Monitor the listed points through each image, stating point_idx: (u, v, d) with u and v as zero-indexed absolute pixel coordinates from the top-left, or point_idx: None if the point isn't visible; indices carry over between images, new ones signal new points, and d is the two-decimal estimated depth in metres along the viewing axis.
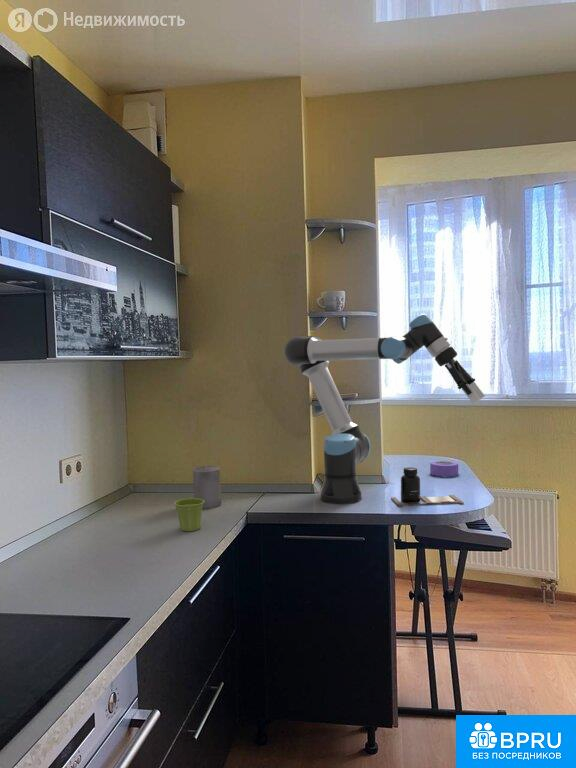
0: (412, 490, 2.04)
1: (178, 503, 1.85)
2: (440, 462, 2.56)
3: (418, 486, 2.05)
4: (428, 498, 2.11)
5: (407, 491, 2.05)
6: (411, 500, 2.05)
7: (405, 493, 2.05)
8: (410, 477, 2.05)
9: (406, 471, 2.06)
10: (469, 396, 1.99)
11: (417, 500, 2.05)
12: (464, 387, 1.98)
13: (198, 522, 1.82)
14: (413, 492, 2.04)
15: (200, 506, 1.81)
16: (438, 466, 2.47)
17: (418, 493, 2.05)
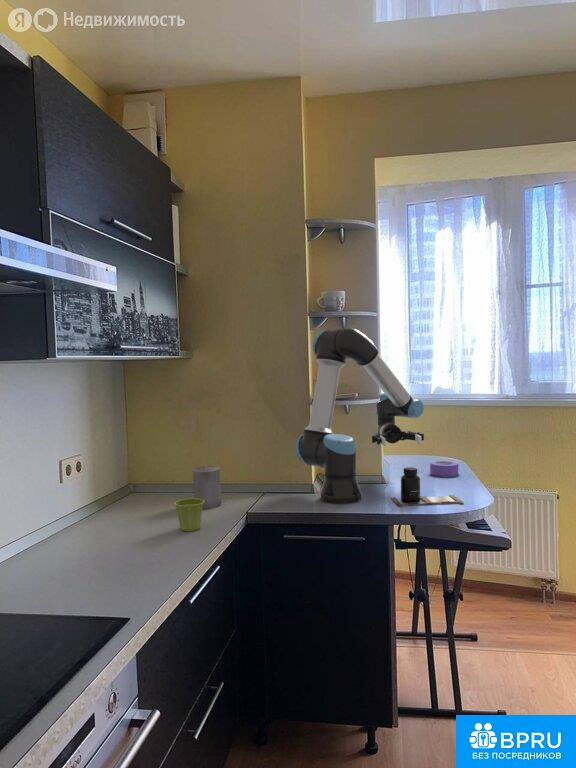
0: (412, 490, 2.04)
1: (178, 503, 1.85)
2: (440, 462, 2.56)
3: (418, 486, 2.05)
4: (428, 498, 2.11)
5: (407, 491, 2.05)
6: (411, 500, 2.05)
7: (405, 493, 2.05)
8: (410, 477, 2.05)
9: (406, 471, 2.06)
10: None
11: (417, 500, 2.05)
12: None
13: (198, 522, 1.82)
14: (413, 492, 2.04)
15: (200, 506, 1.81)
16: (438, 466, 2.47)
17: (418, 493, 2.05)
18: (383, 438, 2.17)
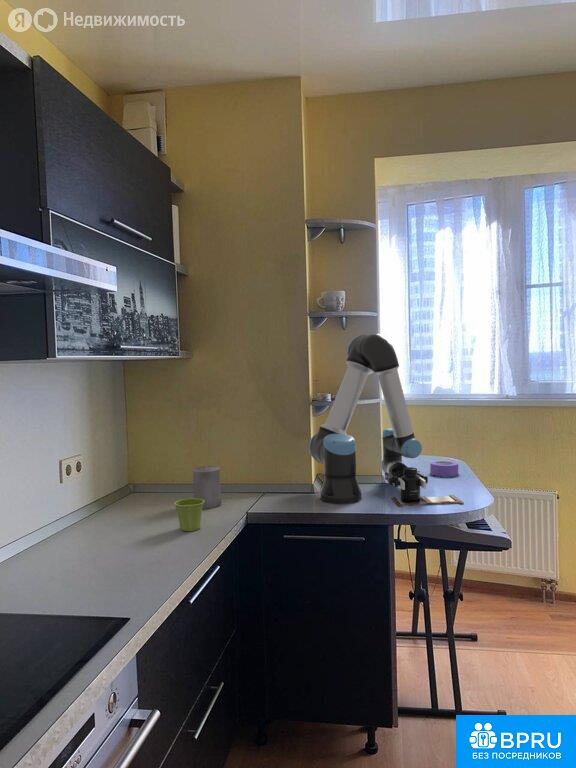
0: (412, 490, 2.04)
1: (178, 503, 1.85)
2: (440, 462, 2.56)
3: (418, 486, 2.05)
4: (428, 498, 2.11)
5: (407, 491, 2.05)
6: (411, 500, 2.05)
7: (405, 493, 2.05)
8: (410, 476, 2.05)
9: (406, 471, 2.06)
10: None
11: (417, 500, 2.05)
12: None
13: (198, 522, 1.82)
14: (413, 492, 2.04)
15: (200, 506, 1.81)
16: (438, 466, 2.47)
17: (418, 493, 2.05)
18: (402, 481, 2.03)
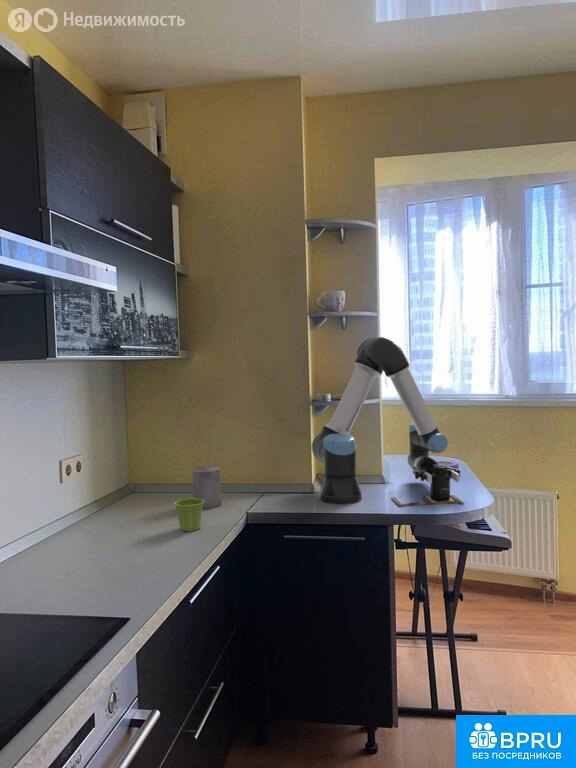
0: (443, 488, 2.05)
1: (178, 503, 1.85)
2: (440, 462, 2.56)
3: (448, 484, 2.06)
4: (428, 498, 2.11)
5: (437, 488, 2.05)
6: (441, 498, 2.05)
7: (435, 491, 2.06)
8: (440, 474, 2.06)
9: (436, 469, 2.06)
10: None
11: (447, 498, 2.06)
12: None
13: (198, 522, 1.82)
14: (443, 490, 2.05)
15: (200, 506, 1.81)
16: None
17: (448, 491, 2.06)
18: (429, 475, 2.04)
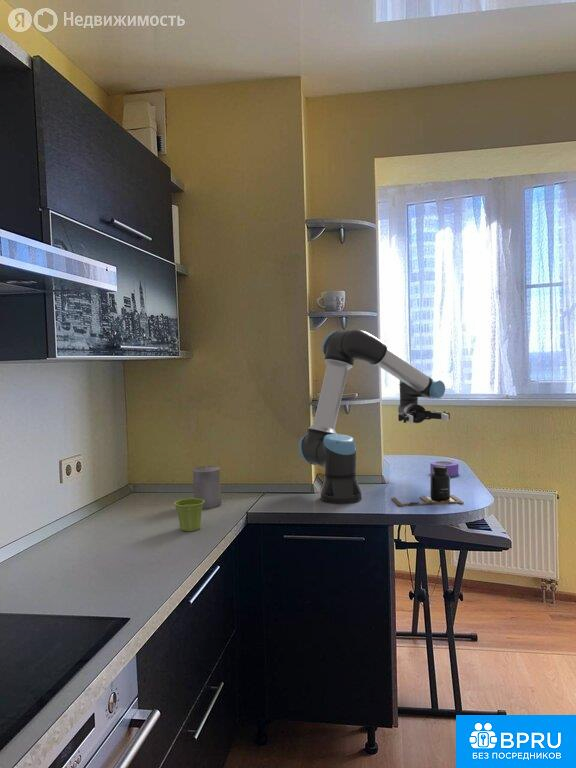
0: (442, 488, 2.05)
1: (178, 503, 1.85)
2: (440, 462, 2.56)
3: (448, 484, 2.06)
4: (428, 498, 2.11)
5: (437, 489, 2.05)
6: (441, 498, 2.05)
7: (435, 491, 2.06)
8: (440, 475, 2.06)
9: (436, 469, 2.06)
10: None
11: (447, 498, 2.06)
12: None
13: (198, 522, 1.82)
14: (443, 490, 2.05)
15: (200, 506, 1.81)
16: None
17: (448, 491, 2.06)
18: (411, 416, 2.19)
